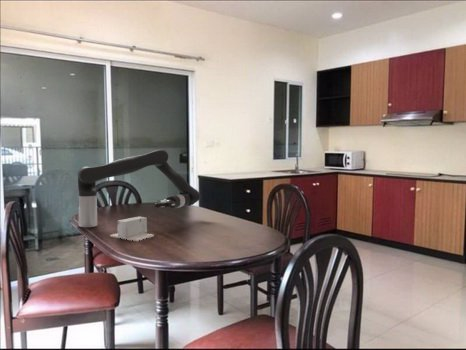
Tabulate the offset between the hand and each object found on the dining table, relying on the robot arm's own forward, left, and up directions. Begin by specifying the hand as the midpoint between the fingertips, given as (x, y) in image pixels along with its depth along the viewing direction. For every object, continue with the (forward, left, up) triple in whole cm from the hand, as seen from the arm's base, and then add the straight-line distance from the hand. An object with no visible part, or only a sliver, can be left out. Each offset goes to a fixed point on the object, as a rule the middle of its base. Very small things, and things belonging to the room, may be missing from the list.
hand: (155, 205), depth 203 cm
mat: (0, -17, -13) cm, 22 cm away
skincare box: (0, -9, -8) cm, 12 cm away
